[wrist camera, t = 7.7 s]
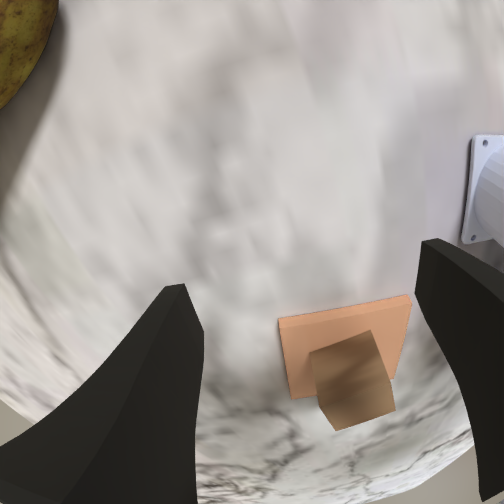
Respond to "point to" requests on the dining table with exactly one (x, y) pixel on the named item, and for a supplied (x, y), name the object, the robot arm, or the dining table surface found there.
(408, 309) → the terracotta tile
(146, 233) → the dining table surface
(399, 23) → the dining table surface
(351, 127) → the dining table surface
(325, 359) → the walnut cube
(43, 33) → the olive green oval piece
